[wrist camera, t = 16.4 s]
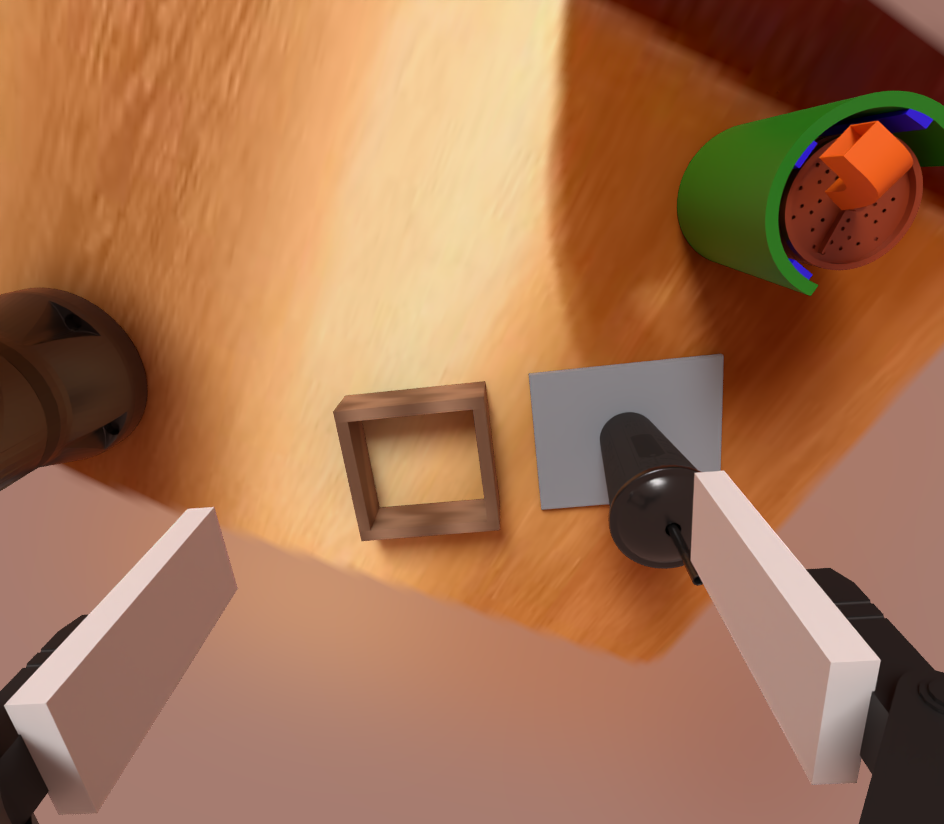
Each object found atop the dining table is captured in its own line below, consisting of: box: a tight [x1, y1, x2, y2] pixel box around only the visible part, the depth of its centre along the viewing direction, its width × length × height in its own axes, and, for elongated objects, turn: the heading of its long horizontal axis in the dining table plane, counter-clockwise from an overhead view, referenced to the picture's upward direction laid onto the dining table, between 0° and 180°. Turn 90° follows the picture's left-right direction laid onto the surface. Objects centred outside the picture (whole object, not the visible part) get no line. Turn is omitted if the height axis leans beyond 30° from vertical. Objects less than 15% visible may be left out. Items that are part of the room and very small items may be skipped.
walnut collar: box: [333, 381, 500, 541], centre depth 51 cm, size 12×12×4 cm
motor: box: [677, 91, 944, 296], centre depth 35 cm, size 10×9×20 cm
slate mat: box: [529, 354, 724, 510], centre depth 51 cm, size 16×13×1 cm
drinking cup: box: [600, 412, 703, 585], centre depth 42 cm, size 8×8×20 cm
